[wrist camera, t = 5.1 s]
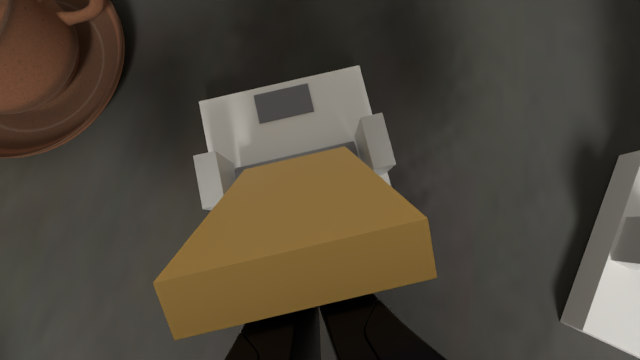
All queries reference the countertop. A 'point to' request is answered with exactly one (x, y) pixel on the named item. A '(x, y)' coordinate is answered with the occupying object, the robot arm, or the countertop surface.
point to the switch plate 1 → (288, 127)
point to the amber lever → (294, 243)
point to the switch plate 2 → (612, 266)
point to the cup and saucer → (55, 70)
